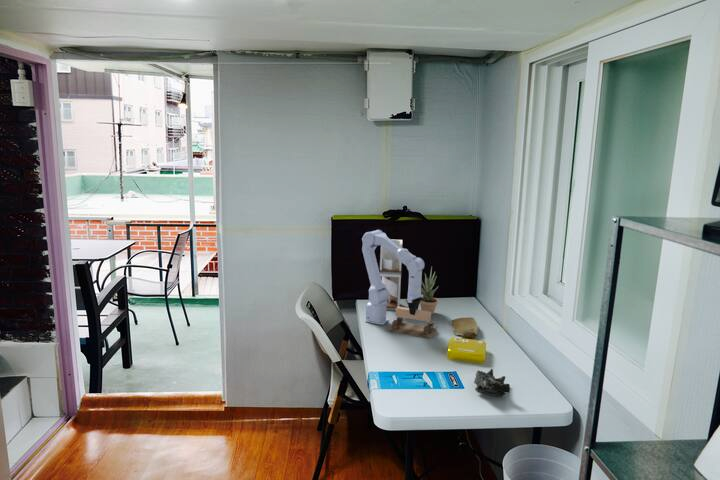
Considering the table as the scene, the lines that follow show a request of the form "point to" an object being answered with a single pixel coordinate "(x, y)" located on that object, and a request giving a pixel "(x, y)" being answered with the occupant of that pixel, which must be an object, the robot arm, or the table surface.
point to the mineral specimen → (490, 383)
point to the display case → (391, 274)
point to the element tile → (467, 350)
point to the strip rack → (412, 328)
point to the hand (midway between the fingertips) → (413, 313)
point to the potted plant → (428, 295)
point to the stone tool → (465, 327)
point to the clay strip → (418, 315)
